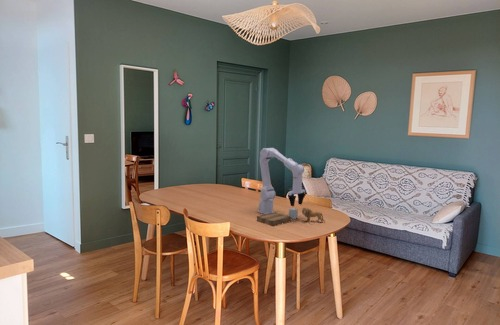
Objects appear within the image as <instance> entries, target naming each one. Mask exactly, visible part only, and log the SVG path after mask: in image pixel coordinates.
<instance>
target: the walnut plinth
mask: <svg viewBox="0 0 500 325" xmlns="http://www.w3.org/2000/svg"><path fill="white" fill-rule="evenodd" d="M256 221H257V222H259V221H260V222H259V223H262V222H263V224H265V223H266V225H268V224H269V225H268V226H271V225H272V227H276V226H279V225H278V224H280V225H283V224H285V223H286V222H287V223H289V221H291V222H292V219H291V217H290V216H289V215H286V214H283V213H278V212H275V211H273V213H269V214H261V215H257V216H256ZM282 223H283V224H282ZM287 223H286V224H287ZM275 225H276V226H275Z"/></svg>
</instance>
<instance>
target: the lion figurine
mask: <svg viewBox="0 0 500 325" xmlns="http://www.w3.org/2000/svg"><path fill="white" fill-rule="evenodd" d="M301 213H302V215H303V216H304V217H305V218H306V222H307V223H310V222H311V218H317V220H315V221H316V222H319V221H320V223H321V224H323V223H324V222H325V219H324V215H323V213H321V212H320V211H312V209H310V208H308V207H302V209H301Z"/></svg>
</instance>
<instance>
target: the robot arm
mask: <svg viewBox="0 0 500 325" xmlns="http://www.w3.org/2000/svg"><path fill="white" fill-rule="evenodd" d="M273 158H276V159H277V160H278V161H280V162H282V163H283V165H284V166H285V167H286V168H287V169H288V170H290V171H291V173H292V190H290V191H288V192H287V198H288V200H289V203H290V207H295V202H296V198H297V200H298V201H297V203H298V205H302V204H303V201H304V199H305V196H306V195H307V193H306V189H303V173H305V166H303V164H299V163H298V162H296V161H294V160H293V158H289V157H288V158H287V157H286V156H284V155H283V154H282V153H280V151H279V150H278V149H276V148H274V147H268V148H267V147H263V148H262V149H261V150H260V152H259V166H260V174H261V181H262V187H261V189H260V200H259V202H258V211H257V213H259V214H262V215H265V214H269V213H273V212H274V199H275V197H276V195H277V194H276V191H275V189H274V187H273V186H272V182H271V175H270V168H269V166H270V165H269V161H270V160H271V159H273ZM296 195H297V196H296Z"/></svg>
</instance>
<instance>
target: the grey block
mask: <svg viewBox="0 0 500 325" xmlns="http://www.w3.org/2000/svg"><path fill="white" fill-rule="evenodd" d="M298 212H299V210H298V208H294V207H293V208H289V209H288V216H290V217H291V218H292V219H291V220H297V219H298V218H299V216H298V214H299V213H298ZM296 218H297V219H296Z"/></svg>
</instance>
